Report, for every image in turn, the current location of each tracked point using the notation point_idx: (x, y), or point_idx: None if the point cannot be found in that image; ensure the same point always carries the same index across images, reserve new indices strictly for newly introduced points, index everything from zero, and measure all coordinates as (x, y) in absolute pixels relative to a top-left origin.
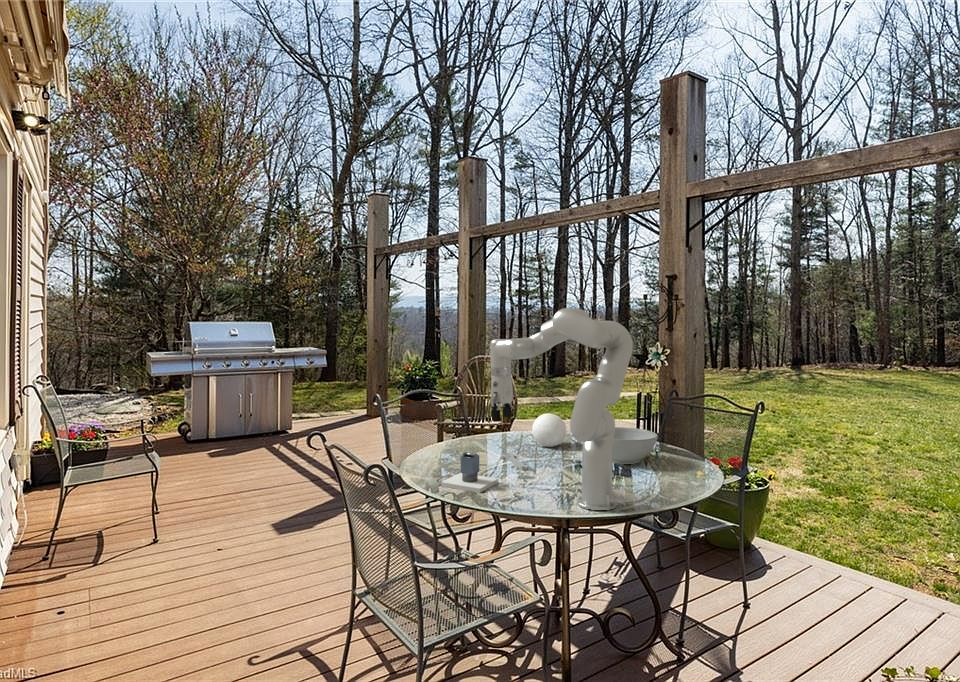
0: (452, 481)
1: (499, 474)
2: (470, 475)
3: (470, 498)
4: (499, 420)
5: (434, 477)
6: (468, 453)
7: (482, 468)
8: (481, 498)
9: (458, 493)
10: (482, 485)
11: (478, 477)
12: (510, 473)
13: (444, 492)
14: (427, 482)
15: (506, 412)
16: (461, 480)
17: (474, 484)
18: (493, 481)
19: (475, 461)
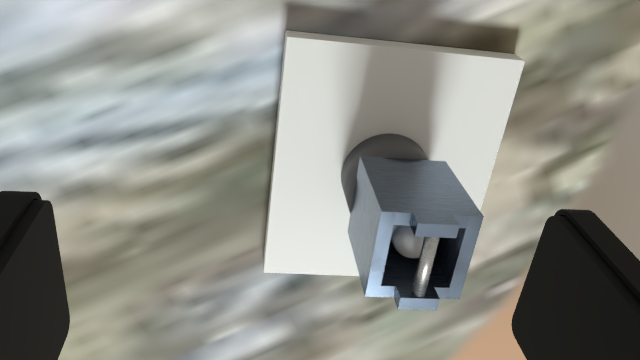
0: None
1: (106, 88)
2: None
3: (613, 62)
4: (588, 216)
5: (331, 347)
6: (428, 278)
7: None
8: (604, 7)
9: (544, 150)
10: (461, 70)
11: (314, 154)
12: (39, 28)
13: (542, 212)
14: (417, 336)
15: (31, 333)
16: None
17: (454, 120)
18: (351, 42)
19: (431, 197)
